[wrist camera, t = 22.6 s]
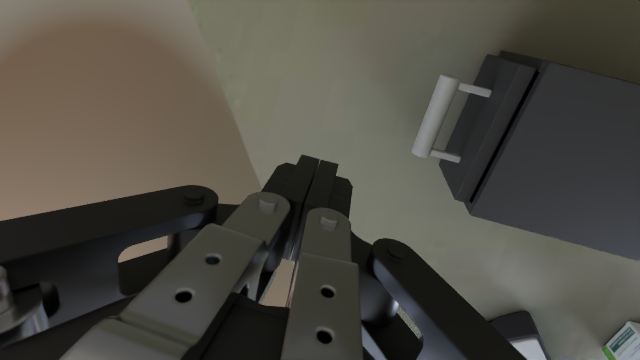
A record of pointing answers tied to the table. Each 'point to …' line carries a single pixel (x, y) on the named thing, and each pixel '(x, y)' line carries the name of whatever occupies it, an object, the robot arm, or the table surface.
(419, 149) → the drawer
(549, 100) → the cabinet
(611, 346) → the syrup box
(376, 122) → the table surface
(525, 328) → the calculator
